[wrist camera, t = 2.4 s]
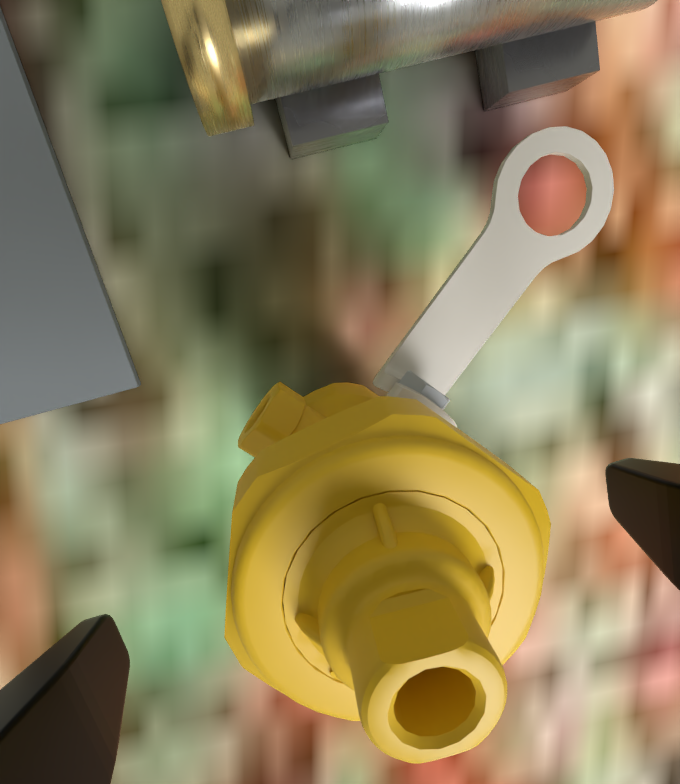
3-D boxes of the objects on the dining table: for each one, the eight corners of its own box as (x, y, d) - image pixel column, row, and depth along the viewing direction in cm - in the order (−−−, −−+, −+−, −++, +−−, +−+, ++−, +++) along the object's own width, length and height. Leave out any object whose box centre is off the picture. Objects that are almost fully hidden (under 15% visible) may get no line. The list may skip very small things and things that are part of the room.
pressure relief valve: (213, 448, 15) (94, 778, 5) (456, 102, 13) (923, -336, 4) (357, 535, 16) (477, 930, 7) (594, 229, 15) (1202, 148, 5)
